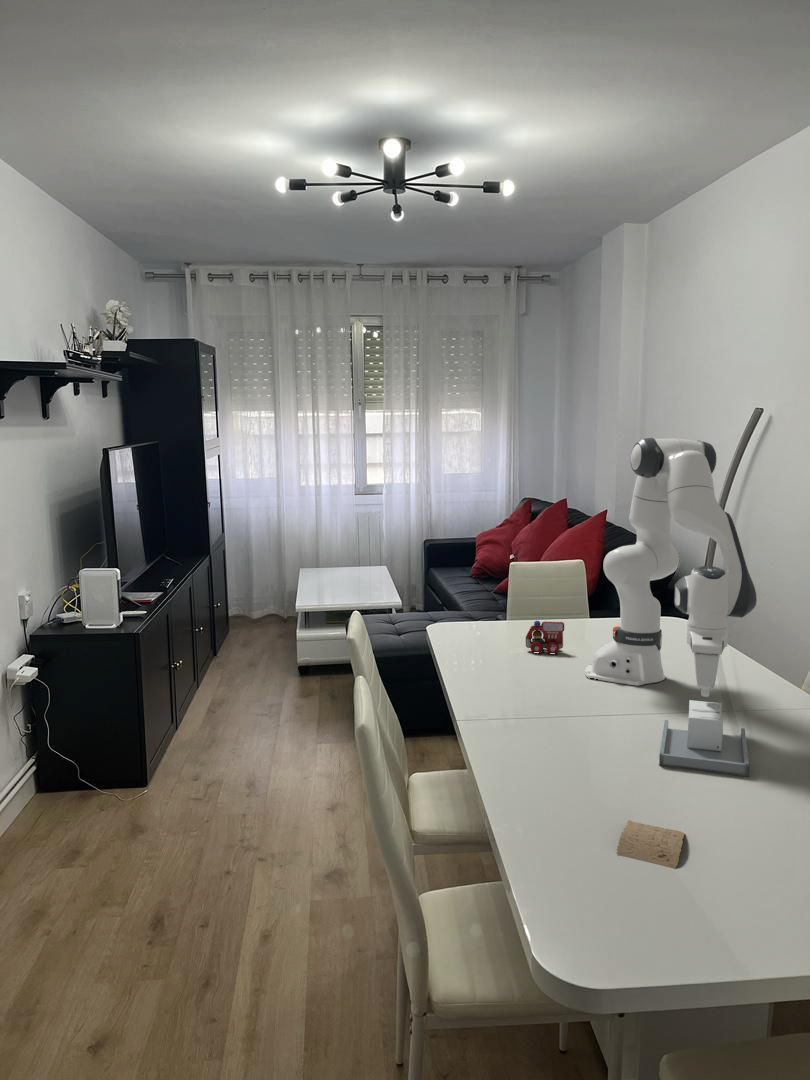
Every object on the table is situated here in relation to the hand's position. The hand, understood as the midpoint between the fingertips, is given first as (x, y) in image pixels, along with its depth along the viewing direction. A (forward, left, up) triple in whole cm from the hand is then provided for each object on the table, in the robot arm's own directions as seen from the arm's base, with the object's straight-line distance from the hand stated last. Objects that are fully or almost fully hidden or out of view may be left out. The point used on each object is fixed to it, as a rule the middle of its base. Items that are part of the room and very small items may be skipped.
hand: (705, 694), depth 186 cm
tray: (0, -11, -10) cm, 15 cm away
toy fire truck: (-49, +59, -10) cm, 77 cm away
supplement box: (0, +1, -5) cm, 6 cm away
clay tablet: (-8, -56, -10) cm, 58 cm away
